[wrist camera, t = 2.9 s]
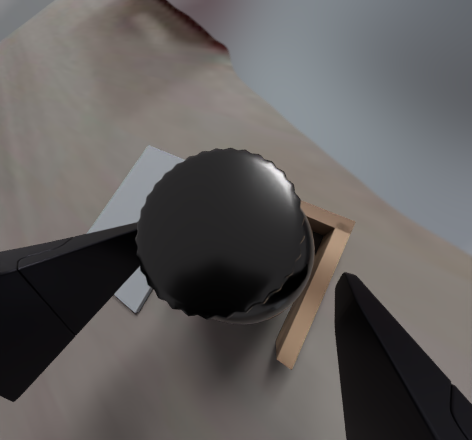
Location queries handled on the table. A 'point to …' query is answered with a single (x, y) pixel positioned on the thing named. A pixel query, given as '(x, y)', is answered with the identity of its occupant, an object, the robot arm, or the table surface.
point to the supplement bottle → (225, 238)
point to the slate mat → (135, 213)
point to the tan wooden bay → (313, 280)
